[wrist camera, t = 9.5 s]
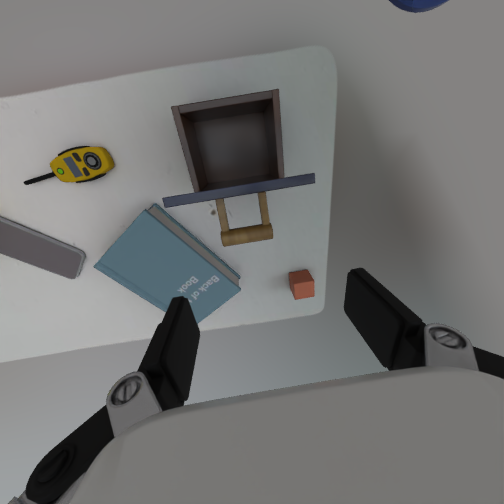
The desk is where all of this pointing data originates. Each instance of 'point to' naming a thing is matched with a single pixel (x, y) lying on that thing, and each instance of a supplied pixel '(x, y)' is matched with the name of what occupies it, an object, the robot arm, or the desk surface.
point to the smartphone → (39, 250)
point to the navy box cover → (243, 233)
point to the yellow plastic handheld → (79, 165)
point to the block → (301, 284)
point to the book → (168, 265)
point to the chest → (231, 140)
